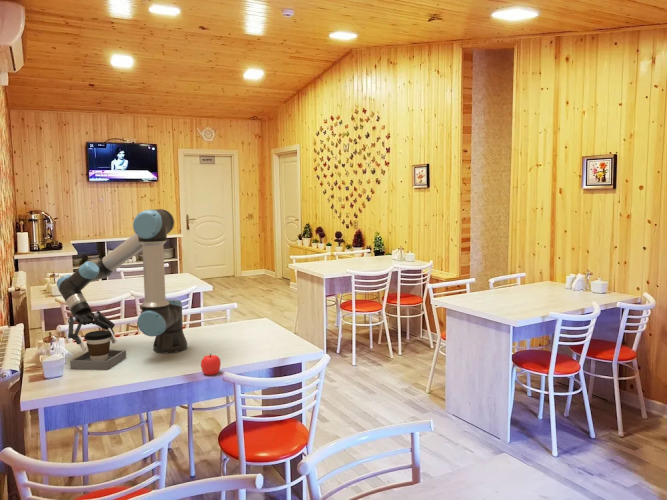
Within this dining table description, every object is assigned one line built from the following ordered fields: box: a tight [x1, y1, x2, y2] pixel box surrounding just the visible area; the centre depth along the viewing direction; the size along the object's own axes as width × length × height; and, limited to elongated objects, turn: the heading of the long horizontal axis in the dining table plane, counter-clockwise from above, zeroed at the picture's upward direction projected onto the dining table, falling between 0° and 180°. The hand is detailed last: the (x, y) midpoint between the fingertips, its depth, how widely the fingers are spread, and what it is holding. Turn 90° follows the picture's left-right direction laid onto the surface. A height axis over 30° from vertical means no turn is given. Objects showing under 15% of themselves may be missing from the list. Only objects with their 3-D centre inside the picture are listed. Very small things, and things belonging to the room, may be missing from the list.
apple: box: [200, 353, 221, 376], centre depth 216 cm, size 8×8×8 cm
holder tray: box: [69, 349, 127, 371], centre depth 231 cm, size 16×16×4 cm
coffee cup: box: [83, 329, 112, 361], centre depth 231 cm, size 11×11×12 cm
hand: (100, 345), depth 229 cm, fingers open, 13 cm apart
